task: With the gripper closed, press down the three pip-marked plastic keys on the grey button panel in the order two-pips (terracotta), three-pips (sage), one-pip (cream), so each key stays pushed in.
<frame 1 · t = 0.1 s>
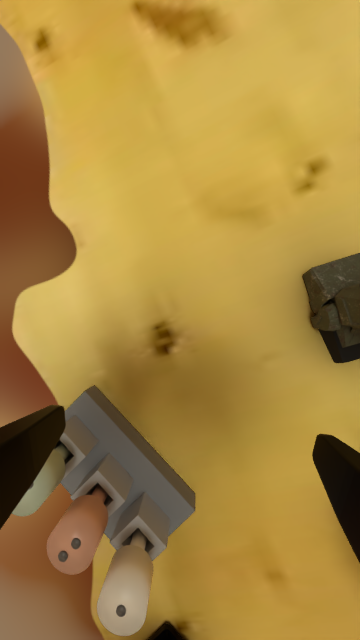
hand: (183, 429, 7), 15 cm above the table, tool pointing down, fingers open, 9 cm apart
key1 cream: (132, 566, 16), point 6 cm above the table, slide at 0.0 cm
key2 terracotta: (88, 516, 16), point 6 cm above the table, slide at 0.0 cm
grey button panel: (116, 464, 22), on the table
key3 sage: (45, 467, 17), point 6 cm above the table, slide at 0.0 cm
mechanical leg: (337, 303, 21), on the table
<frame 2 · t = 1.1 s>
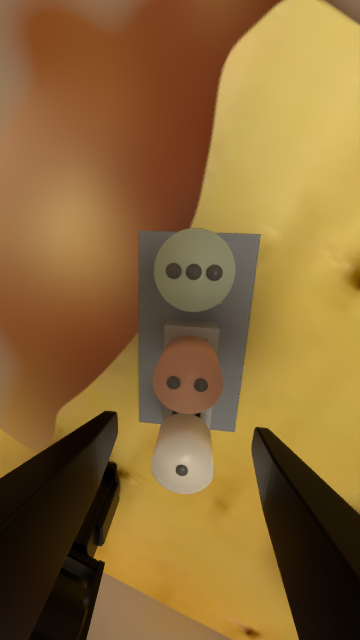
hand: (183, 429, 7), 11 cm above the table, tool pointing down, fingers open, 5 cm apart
key1 cream: (184, 435, 13), point 6 cm above the table, slide at 0.0 cm
key2 terracotta: (189, 362, 12), point 6 cm above the table, slide at 0.0 cm
grey button panel: (192, 334, 18), on the table
key3 sage: (194, 273, 11), point 6 cm above the table, slide at 0.0 cm
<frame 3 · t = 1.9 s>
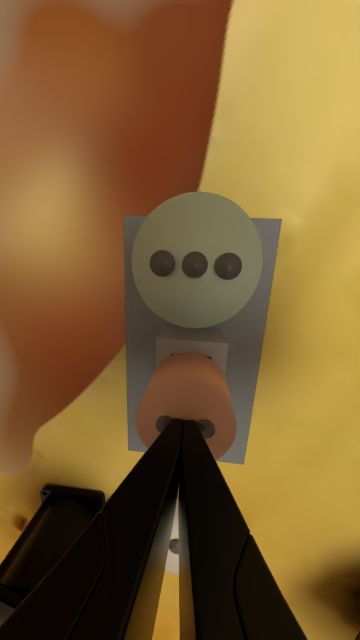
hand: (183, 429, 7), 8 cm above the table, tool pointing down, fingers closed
key1 cream: (182, 482, 10), point 6 cm above the table, slide at 0.0 cm
key2 terracotta: (188, 387, 9), point 6 cm above the table, slide at 0.3 cm, touching gripper
grey button panel: (192, 344, 15), on the table
key3 sage: (195, 268, 8), point 6 cm above the table, slide at 0.0 cm
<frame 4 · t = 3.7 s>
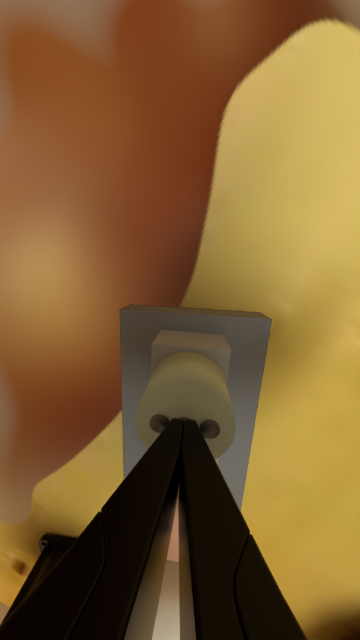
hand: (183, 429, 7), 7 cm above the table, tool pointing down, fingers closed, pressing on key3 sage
key1 cream: (175, 576, 10), point 6 cm above the table, slide at 0.0 cm
key2 terracotta: (182, 475, 10), point 5 cm above the table, slide at 1.2 cm
grey button panel: (187, 413, 15), on the table
key3 sage: (187, 387, 9), point 5 cm above the table, slide at 1.2 cm, touching gripper
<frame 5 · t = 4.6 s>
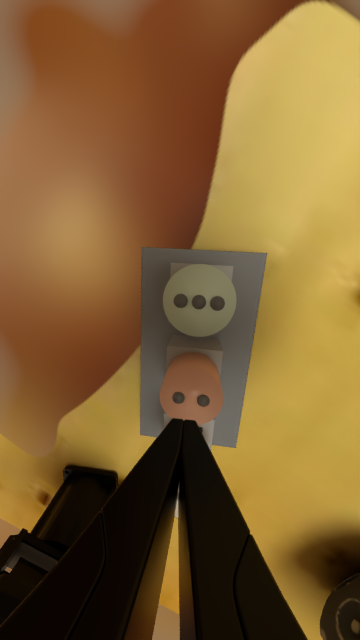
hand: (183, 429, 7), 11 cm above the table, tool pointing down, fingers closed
key1 cream: (185, 456, 13), point 6 cm above the table, slide at 0.0 cm
key2 terracotta: (192, 376, 13), point 5 cm above the table, slide at 1.2 cm
grey button panel: (194, 349, 18), on the table
key3 sage: (199, 296, 12), point 5 cm above the table, slide at 1.2 cm
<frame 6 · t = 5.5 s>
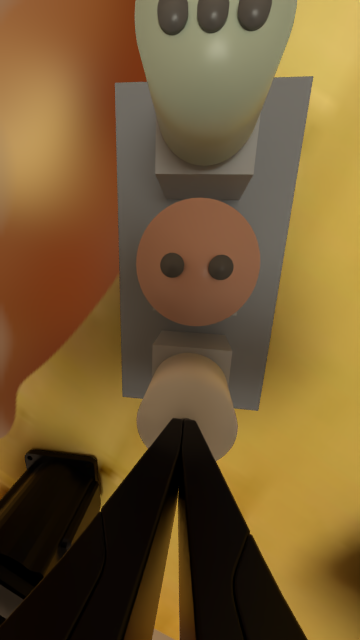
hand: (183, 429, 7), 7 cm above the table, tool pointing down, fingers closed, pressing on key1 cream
key1 cream: (189, 387, 9), point 5 cm above the table, slide at 1.2 cm, touching gripper
key2 terracotta: (196, 269, 8), point 5 cm above the table, slide at 1.2 cm
grey button panel: (197, 271, 13), on the table
key3 sage: (207, 105, 7), point 5 cm above the table, slide at 1.2 cm
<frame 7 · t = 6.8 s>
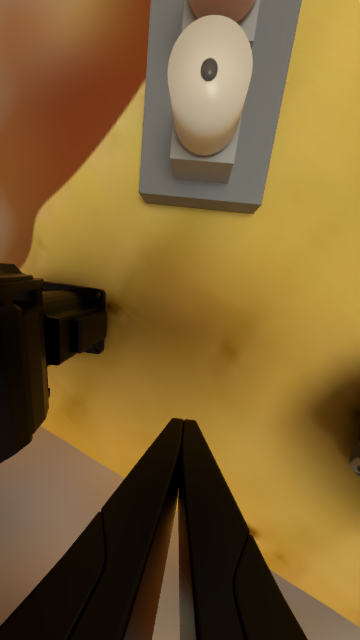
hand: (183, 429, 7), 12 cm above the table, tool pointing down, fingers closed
key1 cream: (206, 117, 10), point 5 cm above the table, slide at 1.2 cm
grey button panel: (215, 80, 14), on the table
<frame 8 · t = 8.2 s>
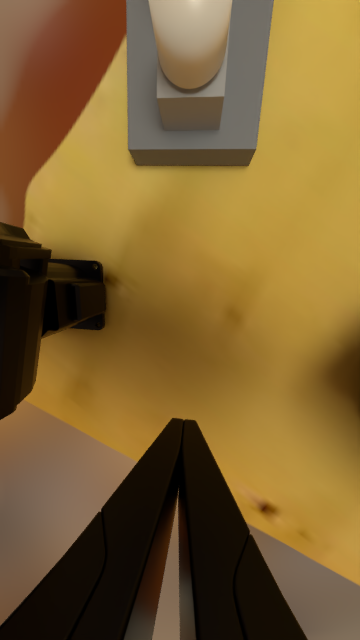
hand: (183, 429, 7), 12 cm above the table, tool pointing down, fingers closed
key1 cream: (191, 45, 10), point 5 cm above the table, slide at 1.2 cm
grey button panel: (198, 25, 13), on the table
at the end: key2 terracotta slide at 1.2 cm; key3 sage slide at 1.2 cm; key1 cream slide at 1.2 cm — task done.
